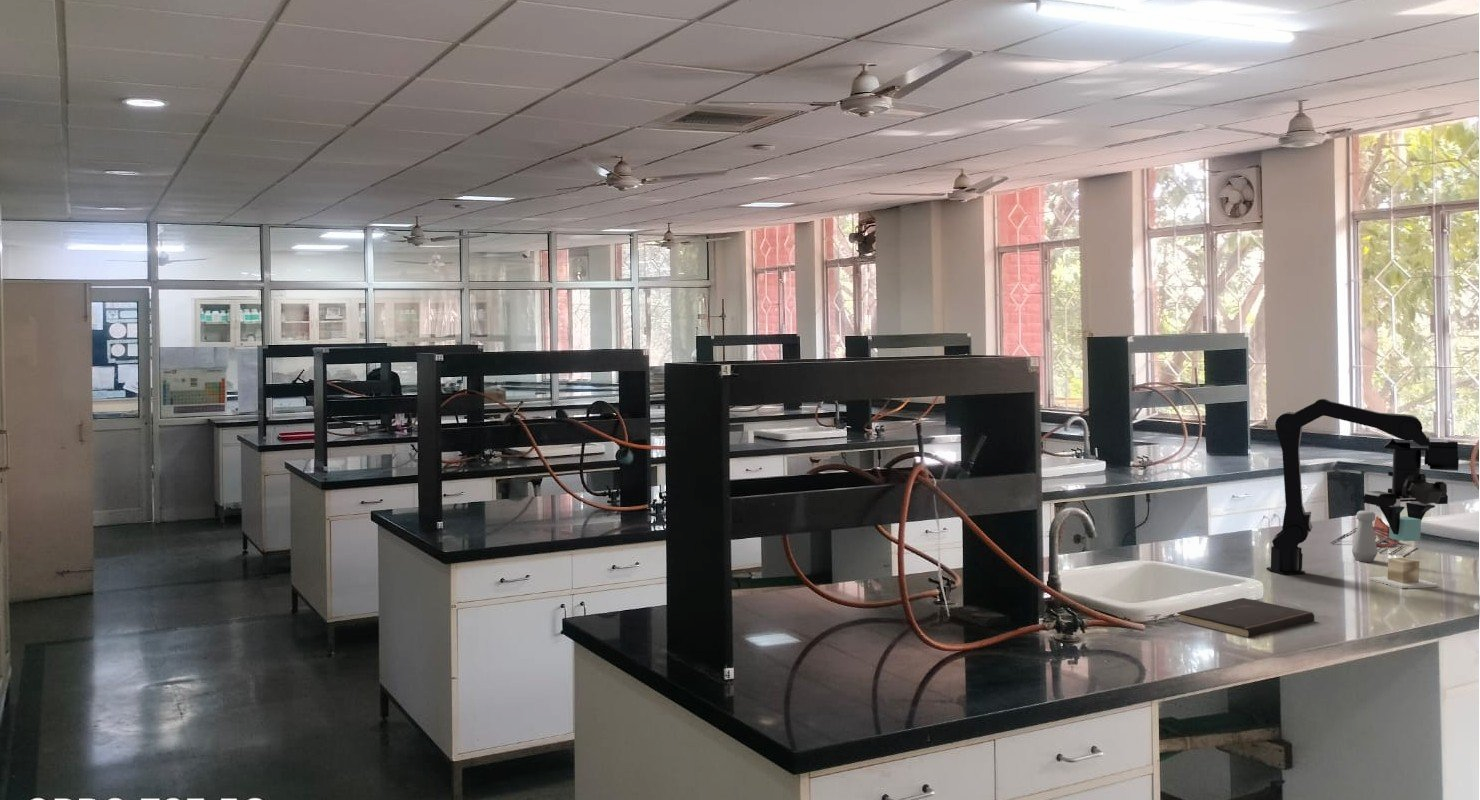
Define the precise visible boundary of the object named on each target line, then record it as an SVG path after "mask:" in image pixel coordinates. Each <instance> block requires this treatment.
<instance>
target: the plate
mask: <svg viewBox="0 0 1480 800" xmlns="http://www.w3.org/2000/svg"><path fill="white" fill-rule="evenodd" d="M1368 580H1369V581H1372V580H1373V581H1372V582H1376V583H1379V582H1380V583H1379V584H1383V583H1384V584H1383V585H1386V584H1388V585H1387V586H1390V585H1391V587H1394V588H1397V587H1398V588H1397V589H1401V588H1408V589H1419V588H1420V589H1421V588H1425V589H1426V588H1438V587H1439V584H1438V583H1434V582H1431V581H1427V580H1424V579H1420V578H1419V582H1414V583H1400V582H1396V581H1393V580H1389V579H1388V575H1387V576H1386V575H1385V576H1384V575H1383V576H1369V577H1368Z"/></svg>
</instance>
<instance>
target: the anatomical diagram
mask: <svg viewBox="0 0 1480 800" xmlns="http://www.w3.org/2000/svg"><path fill="white" fill-rule="evenodd" d="M1373 525H1374V526H1373V530H1374V535H1375V540H1376V546H1377V547H1379V548H1377V552H1378V551H1379V553H1380V554H1382V553H1384V552H1385V551H1387V550H1388V549H1391V548H1392V547H1394V546H1396V545H1398V546H1399V547H1398V548H1395V549H1394V550H1392V551H1391V552H1390V553H1388V554H1389V555H1390V556H1394V555H1395V554H1397V553H1398V552H1400V551H1402V549H1404V548H1406V546H1403V545H1401V544H1398V543H1401V540H1396V539H1392V538H1389V525H1387V524H1386V523H1385V522H1384V521H1383V520H1382V519H1381V517H1379V515H1377V516H1375V520H1374V523H1373ZM1356 531H1357V527H1355V528H1353V529H1352V530H1350V531H1349V532H1347V533H1345V534H1342V535H1341V536H1339V537H1338V538H1337V539H1335V540H1334V539H1333V541H1331V544H1333V545H1335V544H1337V543H1338V542H1340V541H1342V540H1343V539H1346V538H1348V537H1349V536H1352V535H1353V534H1356ZM1377 539H1378V540H1377ZM1384 541H1386V542H1385V543H1383V542H1384ZM1403 544H1405V545H1407V546H1409V544H1407V543H1405V542H1403ZM1387 547H1388V548H1387ZM1411 547H1412V548H1414V549H1411V551H1409V552H1407V553H1406V554H1404V555H1402V558H1407V557H1408V556H1410V555H1411V554H1412V553H1414V552H1416V551H1417V550H1418V551H1419V547H1416V546H1412V545H1411ZM1381 549H1383V550H1381ZM1380 550H1381V551H1380Z"/></svg>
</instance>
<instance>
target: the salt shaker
mask: <svg viewBox="0 0 1480 800" xmlns="http://www.w3.org/2000/svg"><path fill="white" fill-rule="evenodd" d="M1355 516H1356V519H1357V520H1358V522H1357V523H1358V524H1357V527H1356V528H1357V529H1356V530H1357V531H1356V532H1355V535H1354V540H1353V545H1352V547H1351V548H1352V549H1351V553H1352V555H1353V557H1354V560H1355V561H1357V560H1358V562H1362V561H1363V563H1373V562H1374V561H1375V559H1376V557H1377V555H1378V551H1377V550H1378V548H1377V547H1378V546H1376V542H1377V540H1376V539H1375V535H1374V530H1373V527H1374V526H1373V525H1374V523H1373V522H1375V520H1376V513H1375V512H1374V511H1370V510H1358V511H1357V512H1356V515H1355Z"/></svg>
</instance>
